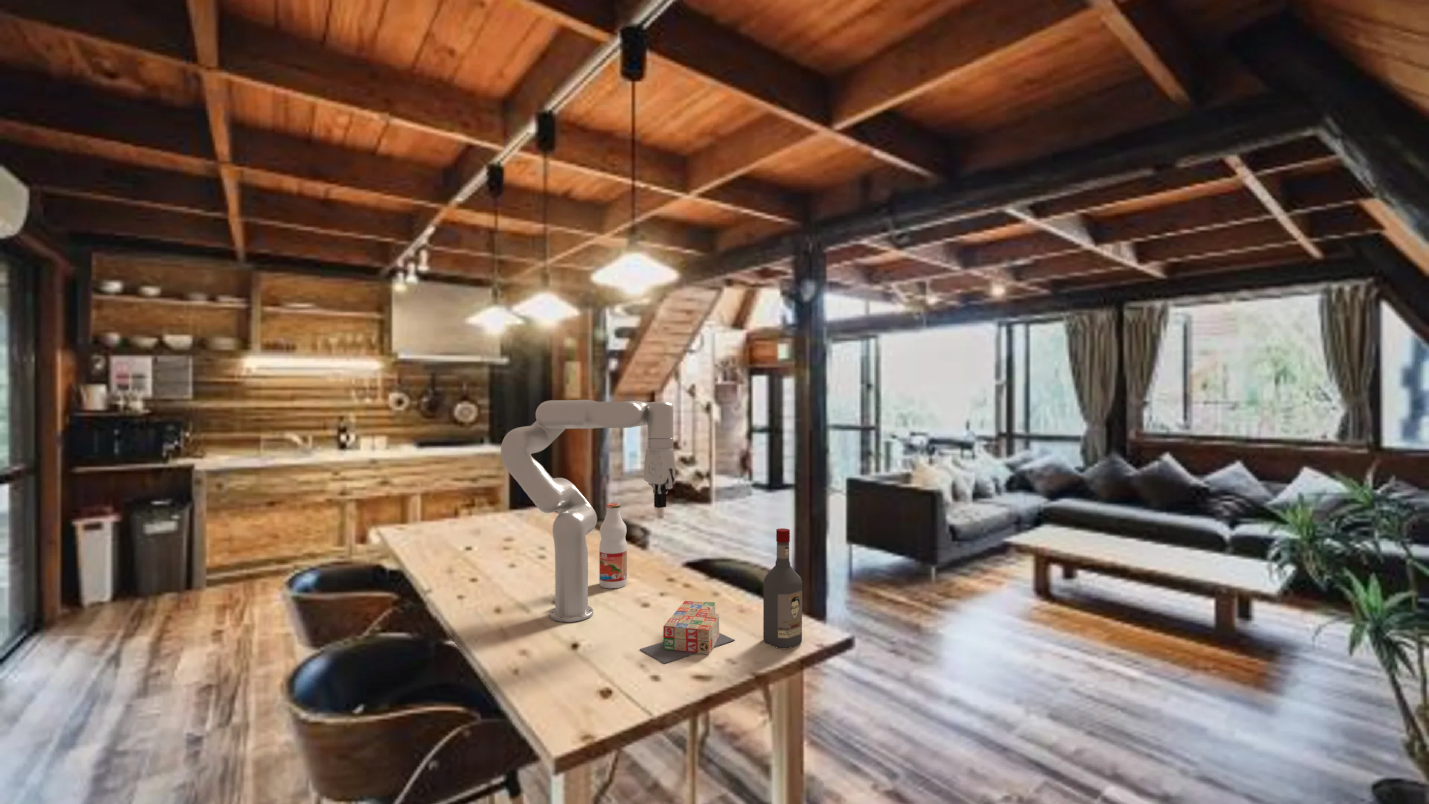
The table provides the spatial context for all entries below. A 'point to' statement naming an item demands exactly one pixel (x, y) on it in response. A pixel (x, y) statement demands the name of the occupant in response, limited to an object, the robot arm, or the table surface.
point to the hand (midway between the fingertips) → (660, 507)
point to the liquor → (782, 599)
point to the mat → (670, 655)
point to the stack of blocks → (692, 628)
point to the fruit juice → (613, 549)
